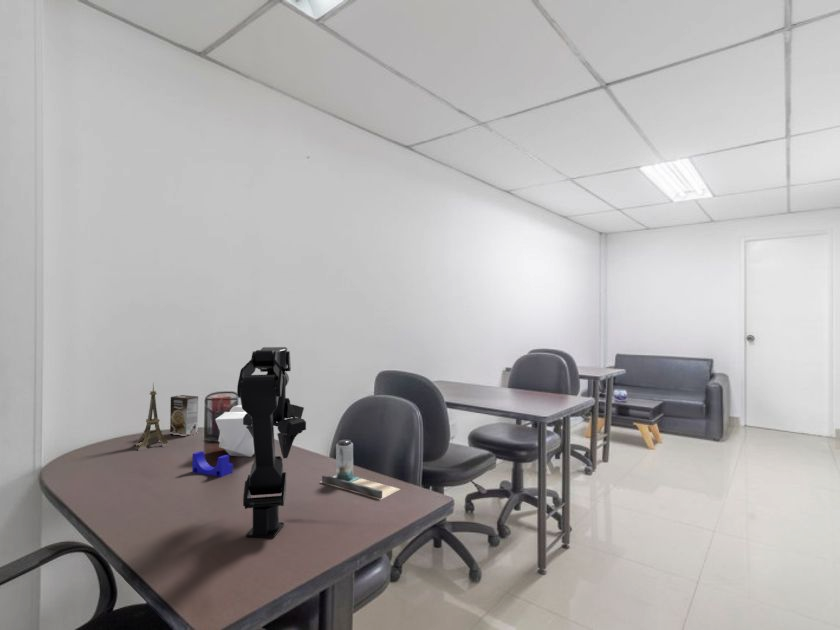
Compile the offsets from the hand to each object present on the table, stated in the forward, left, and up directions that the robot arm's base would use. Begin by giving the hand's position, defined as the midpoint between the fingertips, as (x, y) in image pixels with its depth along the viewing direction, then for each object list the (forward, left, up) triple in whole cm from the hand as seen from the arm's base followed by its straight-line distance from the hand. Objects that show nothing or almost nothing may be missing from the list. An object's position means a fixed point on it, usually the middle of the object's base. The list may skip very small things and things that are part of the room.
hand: (273, 455), depth 116 cm
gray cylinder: (+18, -14, -12) cm, 26 cm away
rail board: (+13, -20, -13) cm, 27 cm away
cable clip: (+23, +30, -13) cm, 40 cm away
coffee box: (+68, +67, -13) cm, 96 cm away
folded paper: (+43, +28, -13) cm, 53 cm away
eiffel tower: (+51, +69, -13) cm, 87 cm away
